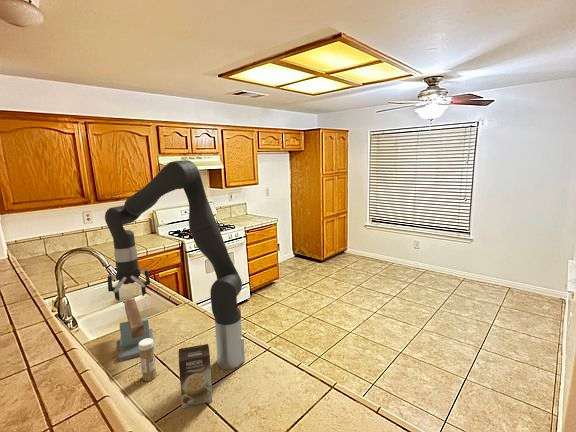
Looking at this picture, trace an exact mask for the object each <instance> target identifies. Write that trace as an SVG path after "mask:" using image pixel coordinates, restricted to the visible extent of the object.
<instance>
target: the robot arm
mask: <svg viewBox="0 0 576 432" xmlns="http://www.w3.org/2000/svg"><path fill="white" fill-rule="evenodd" d="M182 189H183V190H184V193H185V196H186V198H187V201H188V207H189V209H188V226H189V227H188V228H189V231H190V234H191V236H192V239H193V241H194V243H195V246H196V247H197V249H198V250H199V251H200V252H201V253H202V254H203V256H205V258H207V260H208V261H209V262H210V264H211V267H212V268H213V270H214V272H215V275H216V280H215V281H214V282H213V283H212V285H211V286H210V294H209V295H210V304H211V311H212V312H211V313H212V315H213V317H214V325H215V327H214V328H215V343H216V359H217V365H218V367H219V368H221V369H223V370H233V369H236V368H238V367H240V366H241V365H242V364H243V363H245V362H246V360H245V358H246V357H245V338H244V337H243V333H242V331H243V330H242V329H243V328H242V311H241V309H240V307H238V301H237V300H238V295H240V293H241V291H242V290H243V289H242V287H243V283H242V282H243V281H242V278H241V276H240V275H239V273H238V272H239V271H237V269H236V266H235V265H234V262H233V261H232V259H231V256H230V254H229V252H228V249H227V246H226V244H225V241H224V238H223V236H222V233H221V231H220V228H219V224H218V223H217V220H216V218H215V216H214V214H213V213H214V212H213V210H212V208H211V206H210V205H211V204H210V202H209V199H208V196H207V195H206V191H205V187H204V183H203V179H202V176H201V173H200V170H199V168H198V166H197V165H196V164H195V163H194V162H193V161H191V160H189V159H187V160H186V159H184V160H183V159H182V160H174V161H173V160H172V161H170V162H167V164H165V166H164V167H162V169H160V171H158V173H157V174H156V175H155V176H154V177H153V178H152V179H151V180H150V181H149V182H148V183H147V184H146V185H145V186H143V187H142V188H141V189H139V190H138V191H136V192H135V193H133V194H132V195H131V196H129V197H128V198H127V199H126V200H125V201H124V204H123V205H118V206H113V207H112V206H111V207H109V208H107V210H106V212H105V214H104V220H105V223H106V225H107V228H108V230H109V232H110V235H111V236H112V240H113V247H114V249H113V250H114V253H113V255H114V261H115V269H116V274H108V275H107V289H108V292H113V293H114V299H115V300H117V302H119V301H120V300H121V297H120V288H121V287H122V285H128V284H135V283H136V284H138V285H139V286H140V287H141V295H142V296H141V297H145V295H146V294H147V290H146V286H149V285H150V284H151V281H150V276H149V270H148V268H145V269H141V270H140V268H139V258H138V251H137V247H136V240H135V234H134V233H135V232H133V231H132V230H130V229H129V230H128V229H125V228H124V225H128V224H131V223H134V222H135V221H136V220H137V219H139V217H140V216H142V214H144V213H145V212H147V211H148V210H149V209H151V208H152V207H153V206H154V205H156V204H157V202H158V201H159V200H160V199H161V198H162V197H163V196H165V195H166V194H169V193H171V192H173V191H175V190H182ZM141 275H142V276H145V281H144V280H142V279H141V278H140V276H141ZM115 279H117V280H118V281H117V284H116V285H115V286H113V281H115Z"/></svg>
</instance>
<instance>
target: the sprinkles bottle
mask: <svg viewBox="0 0 576 432" xmlns="http://www.w3.org/2000/svg"><path fill="white" fill-rule="evenodd" d="M153 345H154V338H153V339H151V338H146V339H143V340H141V341H140V342H139V344H138V346H139V350H140V356H139V358H140V365H141V366H140V368H141V373H142V381H145V382H149V381H152V380H154V379H155V378H156V377H157V366H156V358H155V348H154V349H153Z"/></svg>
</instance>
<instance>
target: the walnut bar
mask: <svg viewBox="0 0 576 432" xmlns="http://www.w3.org/2000/svg"><path fill="white" fill-rule="evenodd" d="M123 303H124V310H125V314H126V319H127V321H128V323H129V326H130V330H131V334H132V338H137V337H140V336H143V335H145V332H144V325H143V322H142V319H141V318H142V316H141V314H140V310H139V308H138V304H137V301H136V299H135V298H134V297H133V298H130V299H126V300H123Z"/></svg>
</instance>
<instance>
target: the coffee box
mask: <svg viewBox="0 0 576 432" xmlns="http://www.w3.org/2000/svg"><path fill="white" fill-rule="evenodd" d="M210 354H211V353H210V347H209V343H205V344H200V345H193V346H187V347H183V348H182V347H181V348H178V370H179V381H180V382H179V384H180V396H181V397H180V398H181V400H180V401H181V409H185V408H189V407H194V406H198V405H199V406H200V405H202V404H207V403H211V402H213V392H212V391H213V390H212V388H213V387H212V376H211V375H212V373H211V355H210Z"/></svg>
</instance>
